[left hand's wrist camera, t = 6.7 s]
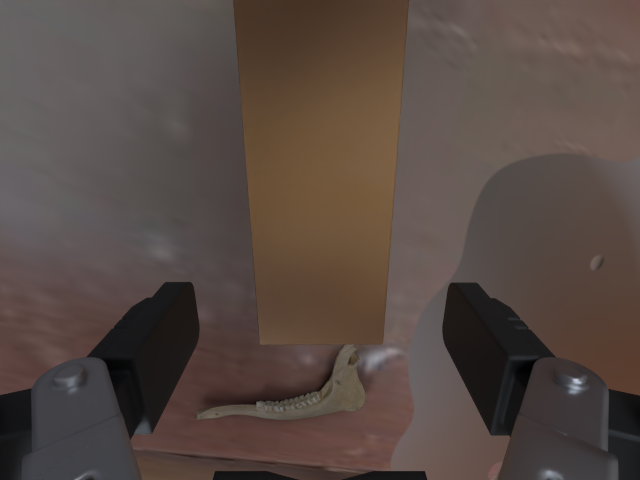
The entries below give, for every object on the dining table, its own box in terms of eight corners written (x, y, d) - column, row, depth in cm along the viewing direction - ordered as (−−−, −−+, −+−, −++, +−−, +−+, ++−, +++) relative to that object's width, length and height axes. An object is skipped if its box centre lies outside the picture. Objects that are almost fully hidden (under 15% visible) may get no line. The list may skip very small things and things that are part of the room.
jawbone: (390, 383, 40) (394, 399, 38) (242, 450, 44) (239, 467, 42) (350, 329, 37) (353, 344, 35) (193, 408, 41) (188, 424, 39)
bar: (362, 266, 24) (382, 345, 16) (278, 266, 24) (259, 345, 16) (390, -322, 14) (469, -790, 7) (249, -322, 14) (172, -791, 7)
